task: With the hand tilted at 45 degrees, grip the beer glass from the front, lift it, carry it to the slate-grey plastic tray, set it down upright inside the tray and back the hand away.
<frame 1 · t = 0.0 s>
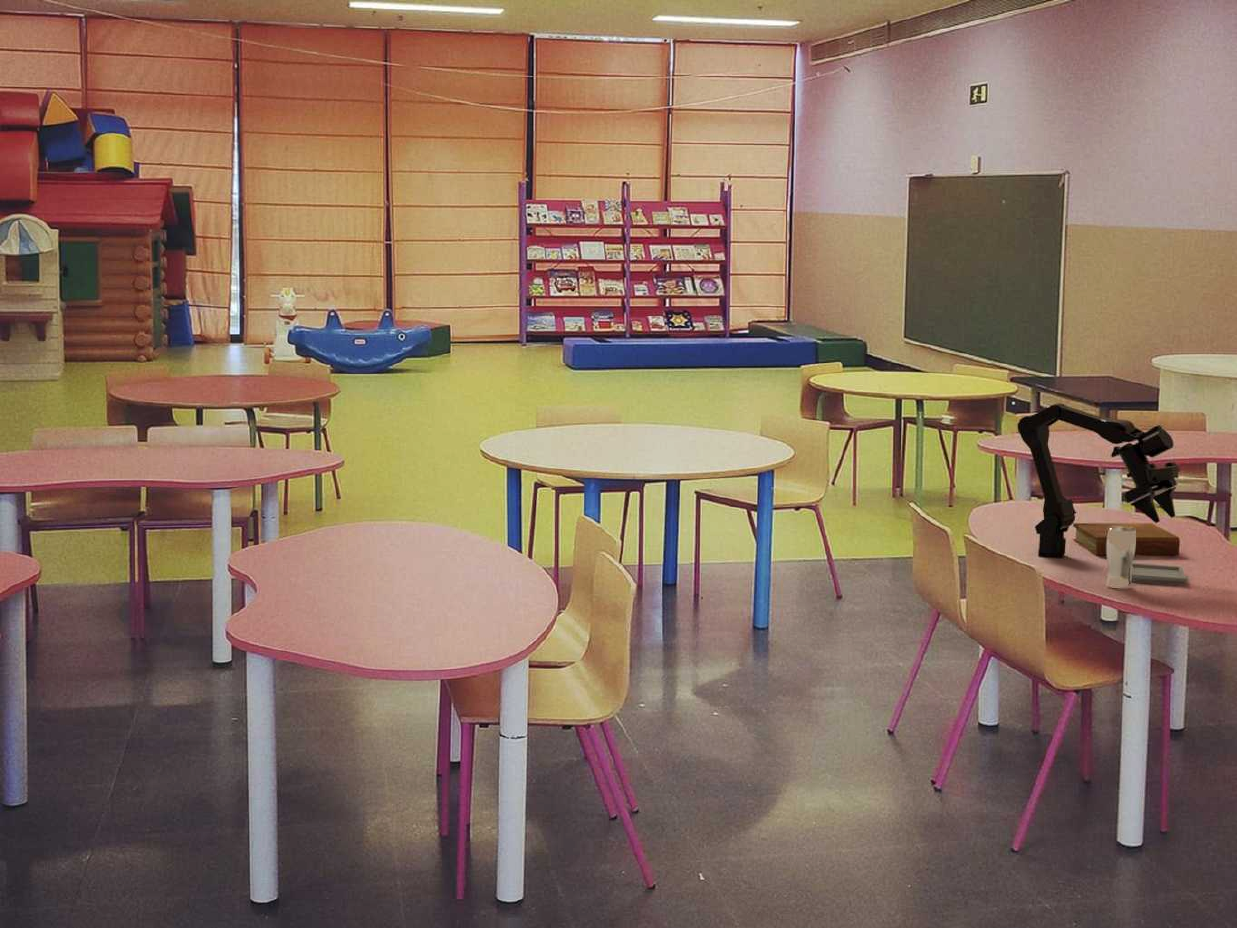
hand: (1165, 519, 357), 15 cm above the table, tool tilted 35°, fingers open, 9 cm apart
beer glass: (1117, 587, 349), on the table
diary: (1124, 550, 391), on the table
grey tray: (1156, 578, 358), on the table
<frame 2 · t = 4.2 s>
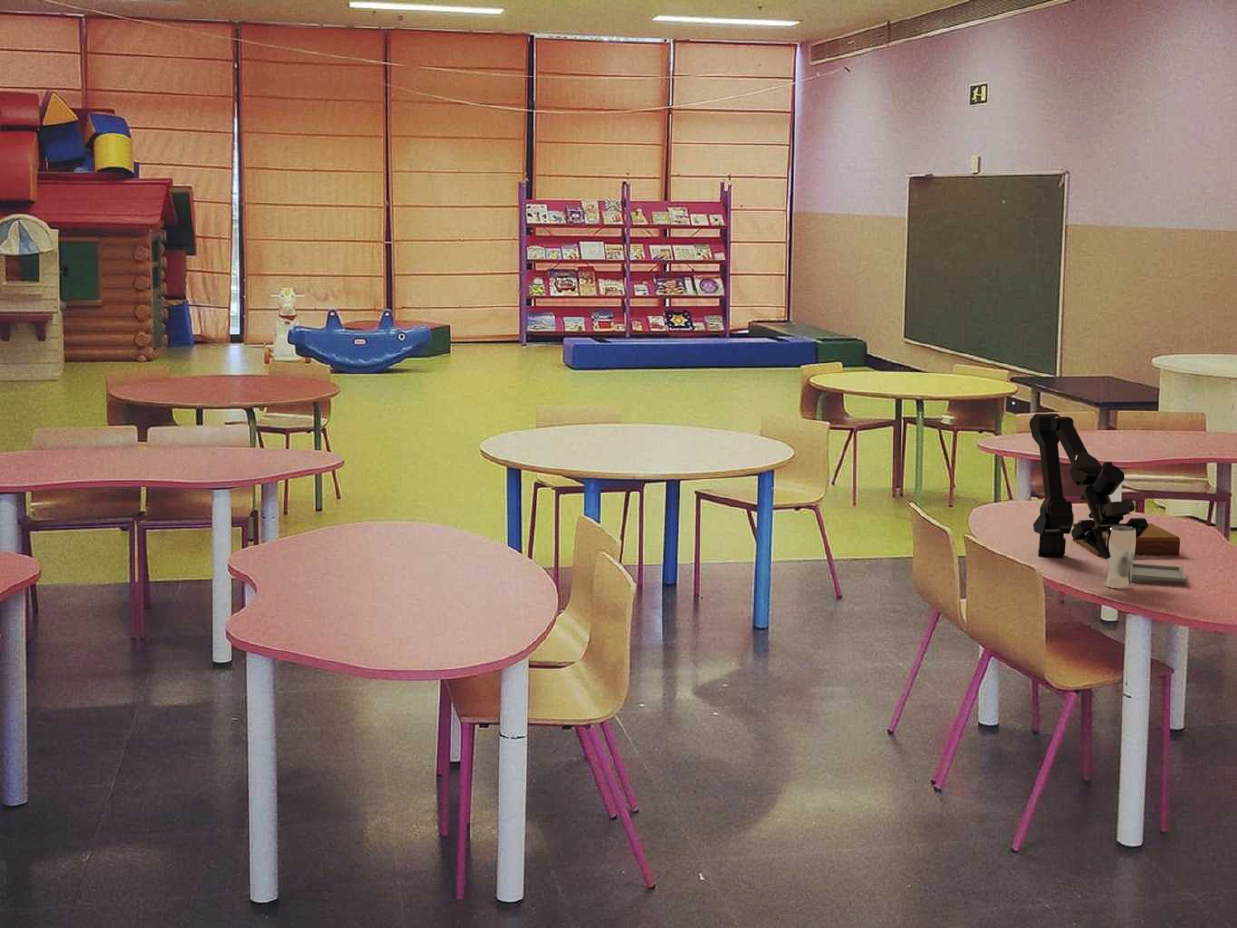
hand: (1120, 557, 347), 8 cm above the table, tool tilted 45°, fingers closed on beer glass, 7 cm apart
beer glass: (1117, 587, 349), on the table, touching gripper
everything else where it was.
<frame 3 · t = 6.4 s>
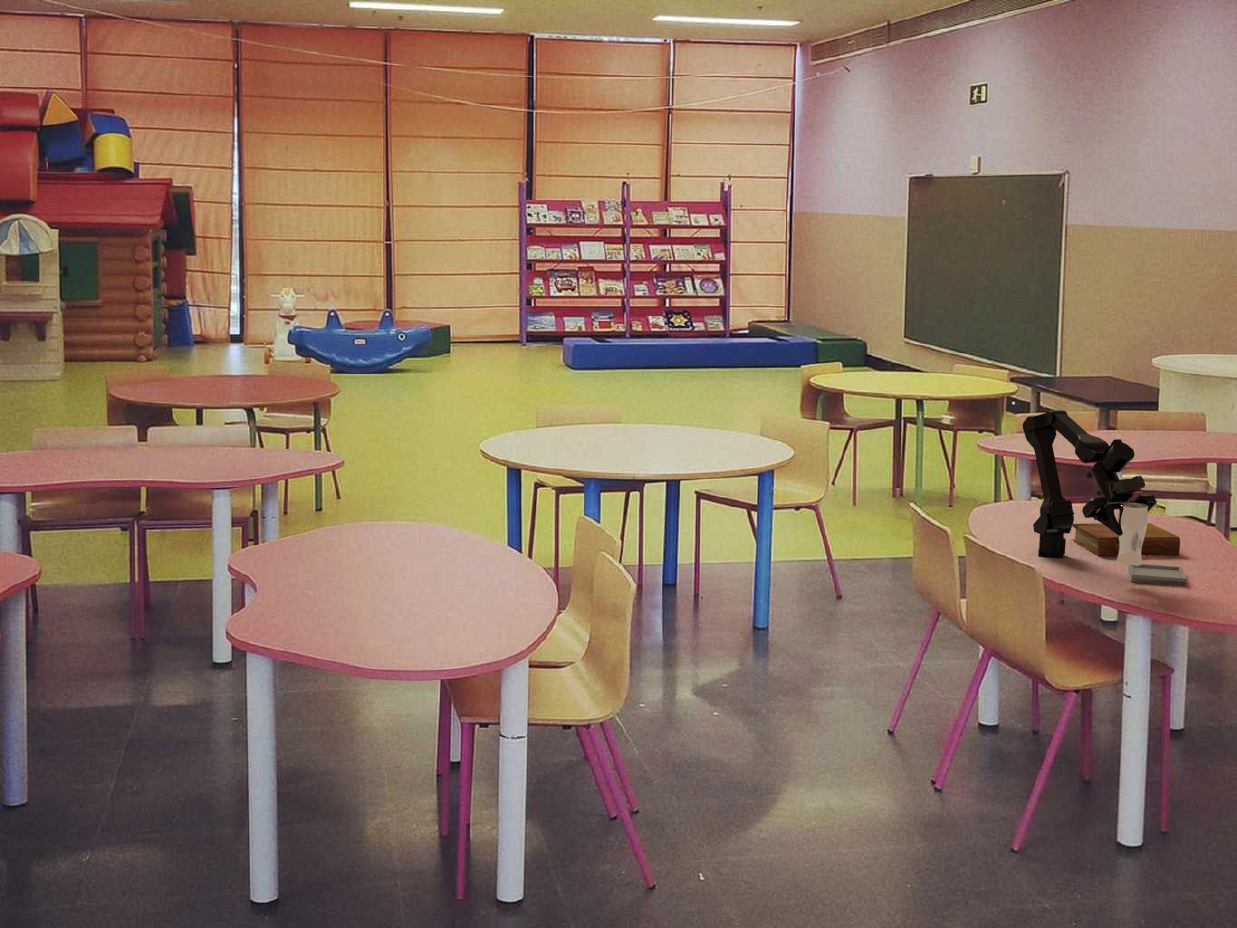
hand: (1132, 534, 348), 13 cm above the table, tool tilted 45°, fingers closed on beer glass, 7 cm apart
beer glass: (1129, 564, 350), point 5 cm above the table, touching gripper
everything else where it was.
when the fingers open (10 cm above the table, at t = 9.0 s): beer glass stays where it is, resting on grey tray.
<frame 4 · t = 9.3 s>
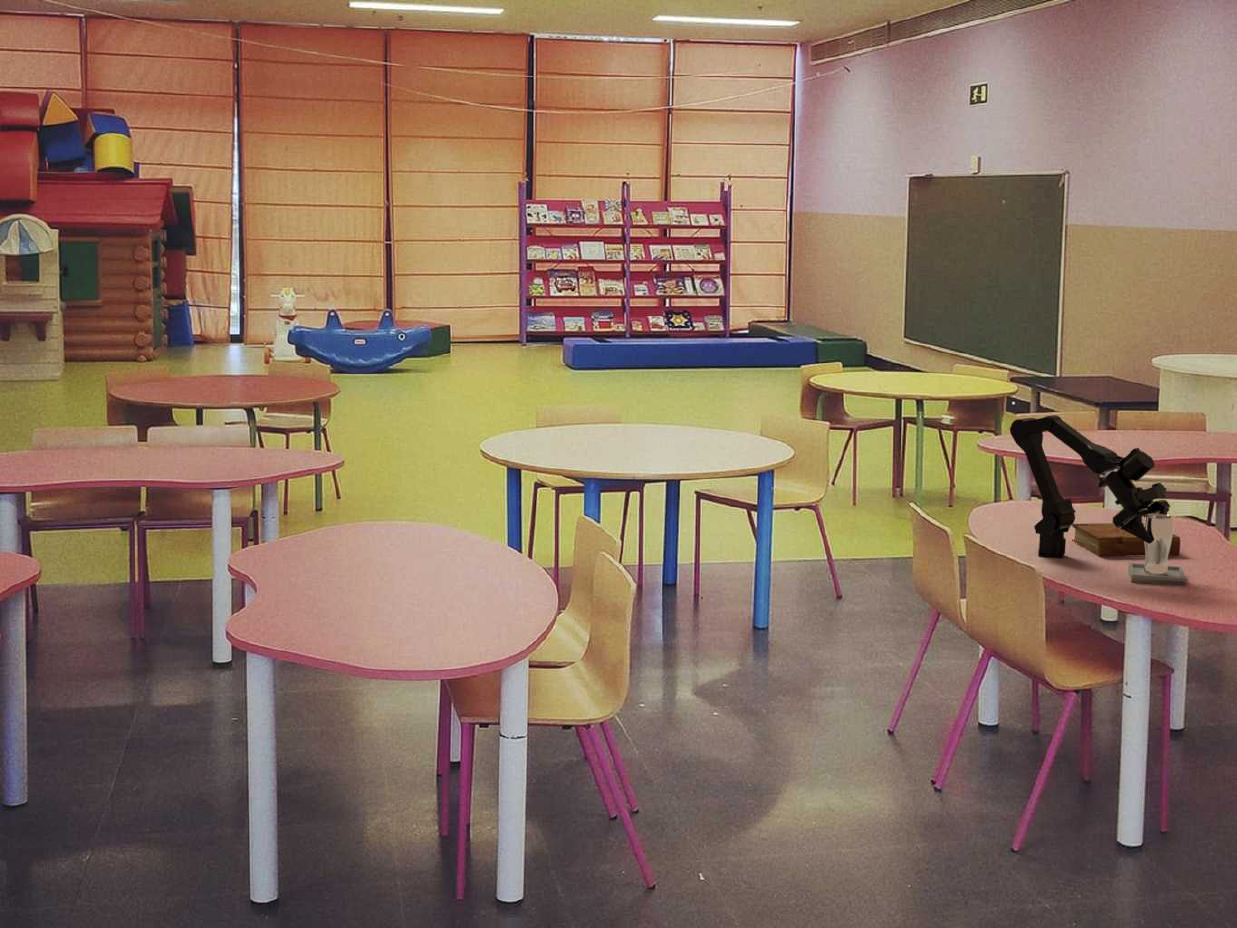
hand: (1160, 540, 356), 10 cm above the table, tool tilted 45°, fingers open, 9 cm apart
beer glass: (1155, 573, 358), point 1 cm above the table, touching grey tray
everything else where it was.
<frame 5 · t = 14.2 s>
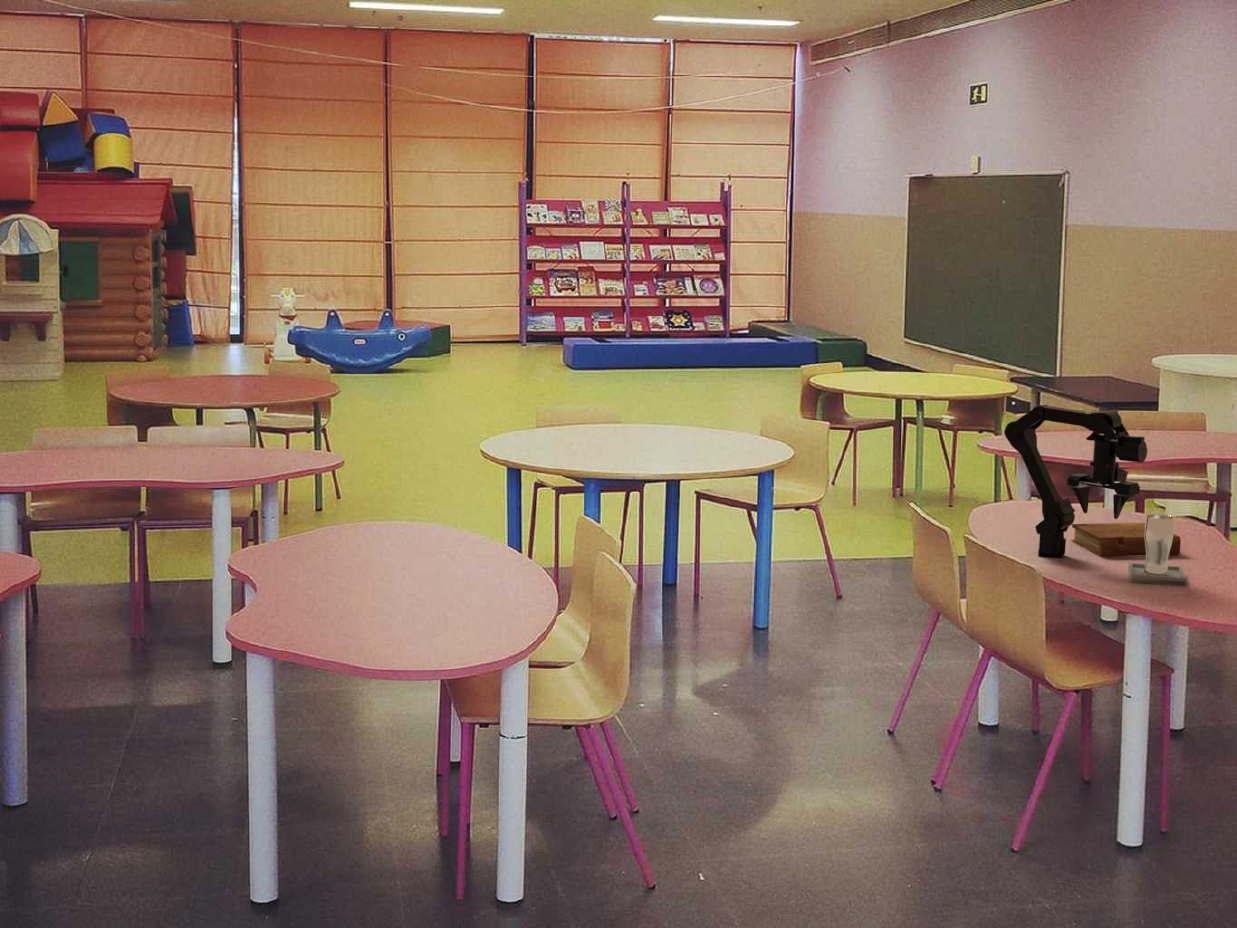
hand: (1100, 515, 371), 13 cm above the table, tool pointing down, fingers open, 9 cm apart
nothing on the table moved.
at the end: beer glass 0.3 cm off-centre on the grey tray, point 1.0 cm above the grey tray's base; beer glass tilted 0°; the gripper is holding nothing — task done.
